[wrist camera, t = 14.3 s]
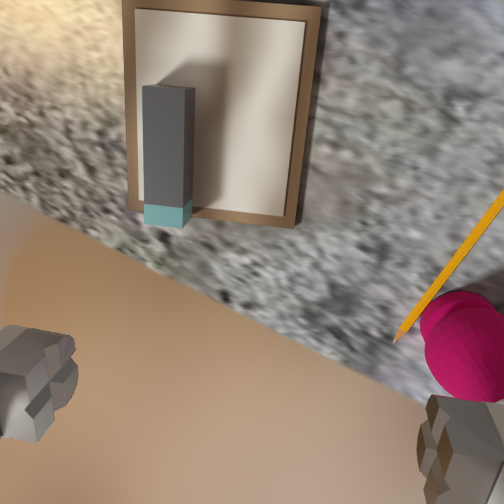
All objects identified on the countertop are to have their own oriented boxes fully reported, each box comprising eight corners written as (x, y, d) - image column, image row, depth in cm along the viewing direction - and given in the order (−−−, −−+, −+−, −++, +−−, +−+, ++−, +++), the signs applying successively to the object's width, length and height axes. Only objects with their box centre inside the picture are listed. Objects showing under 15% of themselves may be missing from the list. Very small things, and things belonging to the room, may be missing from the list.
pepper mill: (417, 284, 37) (522, 492, 19) (509, 285, 36) (710, 505, 18) (409, 355, 40) (494, 597, 22) (494, 358, 39) (656, 614, 21)
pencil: (541, 152, 33) (546, 154, 32) (395, 343, 40) (397, 347, 40) (532, 147, 33) (536, 149, 32) (388, 339, 40) (389, 343, 39)
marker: (195, 87, 33) (184, 89, 30) (191, 216, 37) (182, 228, 34) (155, 84, 33) (141, 85, 30) (156, 212, 37) (144, 223, 34)
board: (321, 7, 30) (321, 6, 30) (294, 226, 37) (294, 229, 36) (124, -7, 32) (120, -9, 31) (131, 207, 38) (127, 210, 37)
